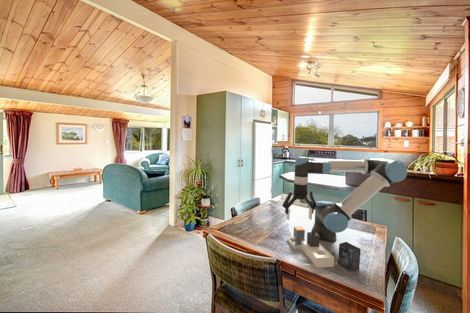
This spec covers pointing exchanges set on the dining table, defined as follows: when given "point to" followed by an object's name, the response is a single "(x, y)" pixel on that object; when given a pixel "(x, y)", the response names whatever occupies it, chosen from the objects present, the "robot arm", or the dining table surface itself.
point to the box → (349, 256)
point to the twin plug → (313, 238)
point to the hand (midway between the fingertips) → (299, 219)
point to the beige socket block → (318, 255)
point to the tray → (292, 242)
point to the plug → (299, 234)
